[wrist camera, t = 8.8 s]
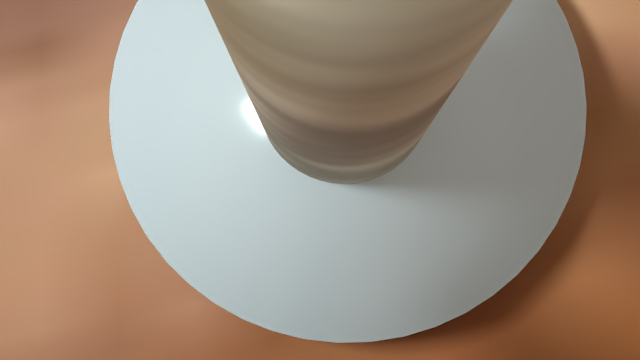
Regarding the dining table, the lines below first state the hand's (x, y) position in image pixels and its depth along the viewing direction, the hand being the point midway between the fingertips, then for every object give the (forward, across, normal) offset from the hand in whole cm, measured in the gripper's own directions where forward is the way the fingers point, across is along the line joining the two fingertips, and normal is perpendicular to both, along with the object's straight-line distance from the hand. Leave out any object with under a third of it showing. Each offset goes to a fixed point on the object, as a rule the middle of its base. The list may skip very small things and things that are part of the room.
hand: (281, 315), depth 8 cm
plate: (+11, 0, +3) cm, 12 cm away
